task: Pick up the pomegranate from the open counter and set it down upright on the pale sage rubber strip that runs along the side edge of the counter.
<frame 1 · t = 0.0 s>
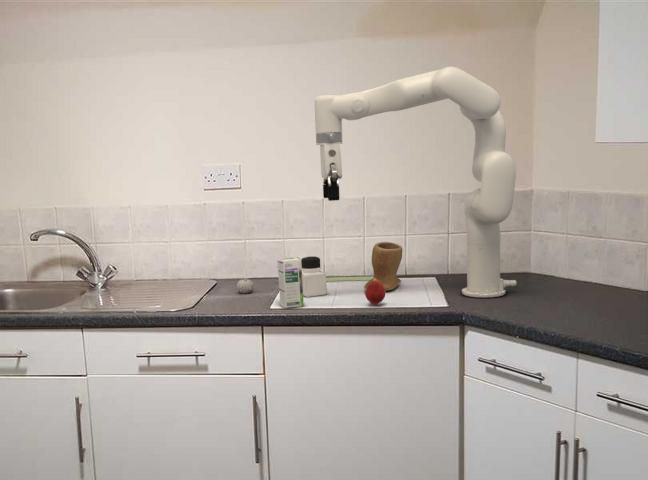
hand: (331, 199, 221), 31 cm above the worktop, tool pointing down, fingers open, 9 cm apart
garlic: (245, 293, 251), on the worktop
stone cup: (385, 289, 245), on the worktop
medicine bottle: (312, 294, 243), on the worktop
edge strip: (344, 279, 264), on the worktop
syrup box: (291, 306, 228), on the worktop
pomegranate: (375, 306, 222), on the worktop
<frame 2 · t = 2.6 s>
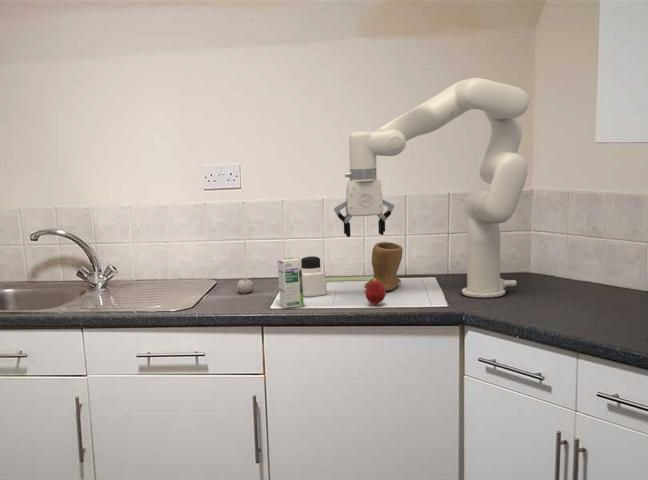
hand: (364, 235, 219), 21 cm above the worktop, tool pointing down, fingers open, 9 cm apart
nothing on the worktop moved.
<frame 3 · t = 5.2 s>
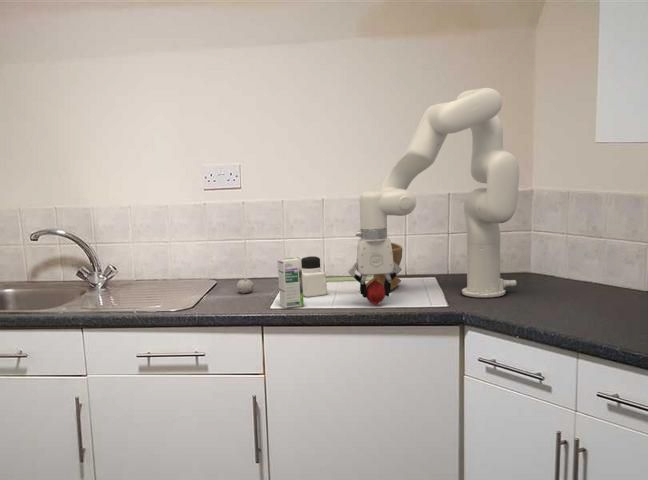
hand: (375, 295, 221), 3 cm above the worktop, tool pointing down, fingers closed on pomegranate, 5 cm apart
pomegranate: (375, 306, 222), on the worktop, touching gripper
everything else where it was.
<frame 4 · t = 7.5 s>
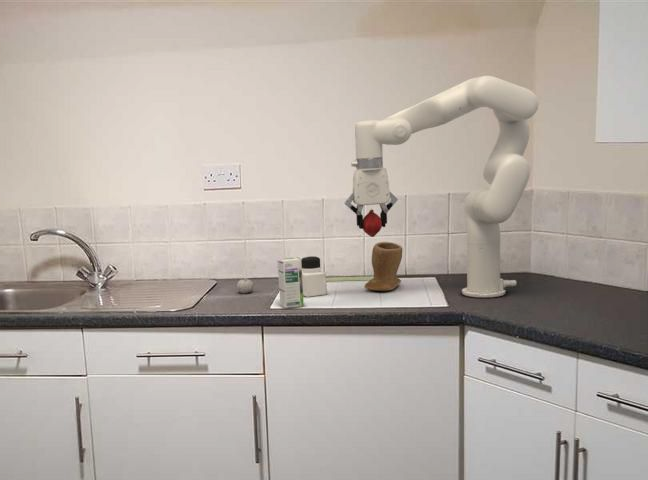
hand: (372, 226, 220), 23 cm above the worktop, tool pointing down, fingers closed on pomegranate, 5 cm apart
pomegranate: (372, 237, 221), point 20 cm above the worktop, touching gripper
everything else where it was.
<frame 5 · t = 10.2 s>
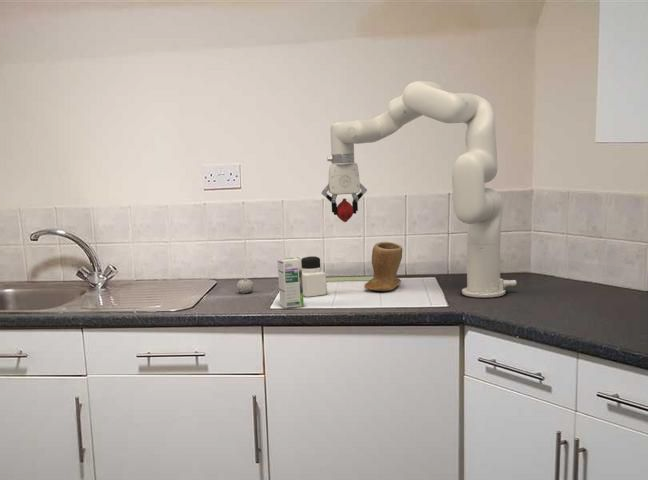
hand: (344, 213, 256), 23 cm above the worktop, tool pointing down, fingers closed on pomegranate, 5 cm apart
pomegranate: (345, 222, 256), point 20 cm above the worktop, touching gripper
everything else where it was.
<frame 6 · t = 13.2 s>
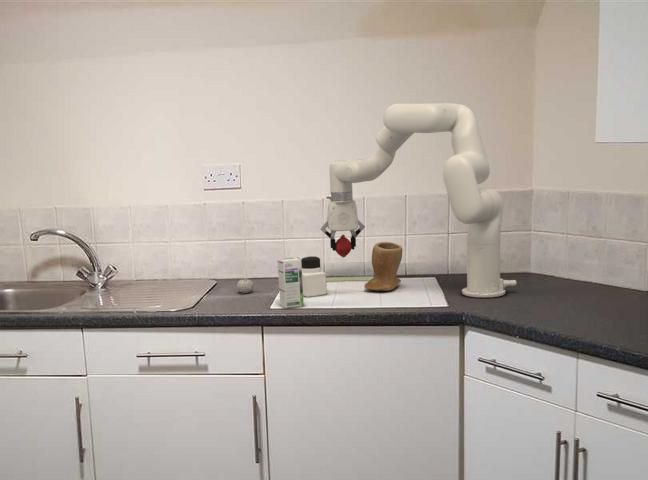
hand: (343, 249, 263), 11 cm above the worktop, tool pointing down, fingers closed on pomegranate, 5 cm apart
pomegranate: (343, 258, 263), point 7 cm above the worktop, touching gripper
everything else where it was.
when the fingers open (3 cm above the worktop, at t = 15.4 s): pomegranate stays where it is, resting on edge strip.
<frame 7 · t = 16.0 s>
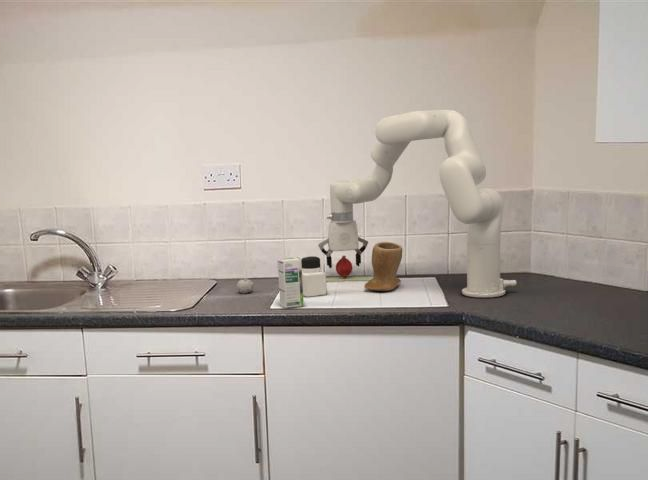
hand: (344, 266, 264), 4 cm above the worktop, tool pointing down, fingers open, 9 cm apart
pomegranate: (344, 278, 265), resting on edge strip
everything else where it was.
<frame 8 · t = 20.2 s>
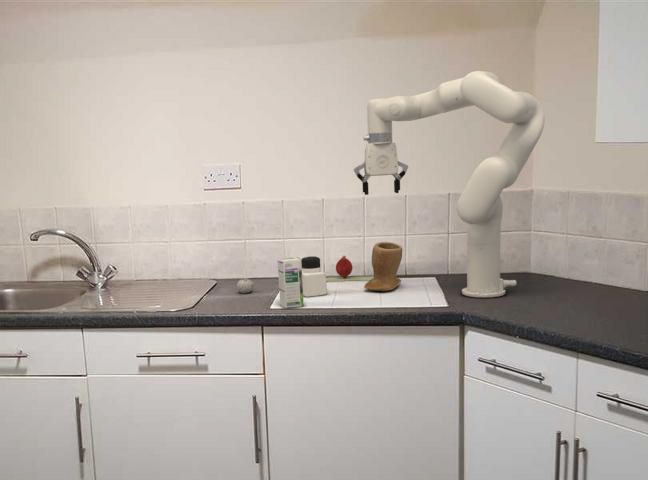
hand: (381, 193, 242), 30 cm above the worktop, tool pointing down, fingers open, 9 cm apart
nothing on the worktop moved.
at the end: pomegranate inside the target area (0.1 cm from its centre), resting on edge strip; pomegranate tilted 0°; the gripper is holding nothing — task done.
